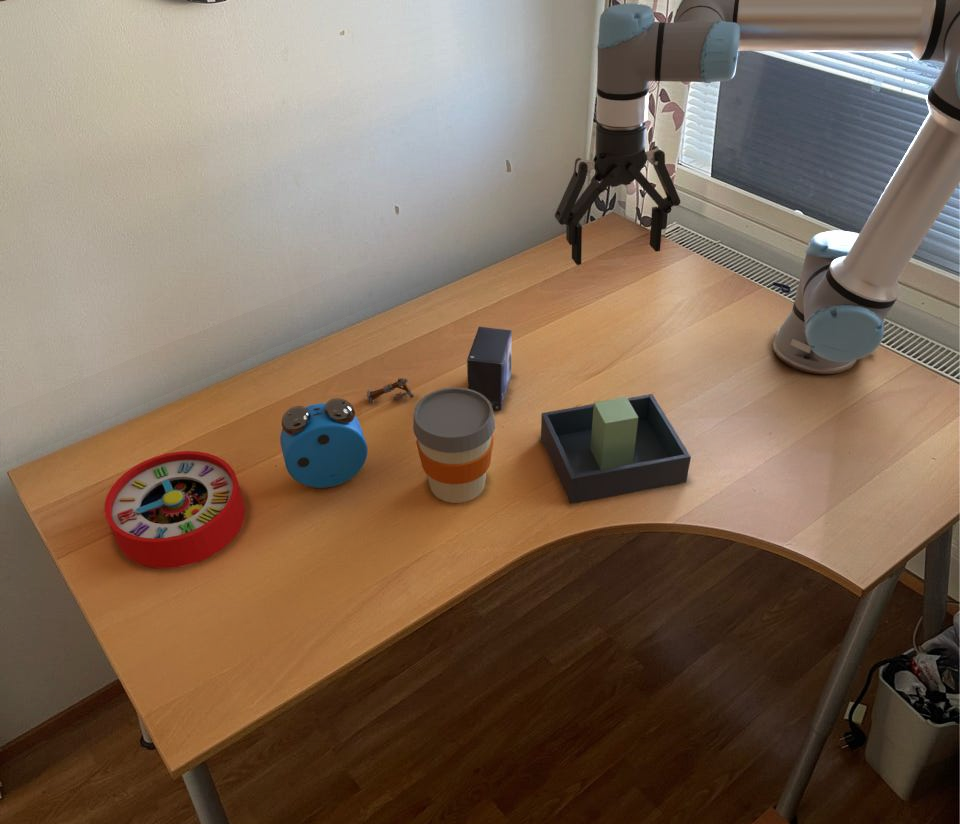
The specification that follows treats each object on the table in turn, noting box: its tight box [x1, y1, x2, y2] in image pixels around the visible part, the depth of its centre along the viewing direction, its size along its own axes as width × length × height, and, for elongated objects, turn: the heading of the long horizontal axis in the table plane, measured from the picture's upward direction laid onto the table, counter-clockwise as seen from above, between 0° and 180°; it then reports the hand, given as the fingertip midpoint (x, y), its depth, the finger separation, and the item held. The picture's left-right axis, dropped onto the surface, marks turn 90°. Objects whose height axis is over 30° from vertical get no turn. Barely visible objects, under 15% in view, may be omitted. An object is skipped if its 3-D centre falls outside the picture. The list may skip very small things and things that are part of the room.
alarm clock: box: [279, 397, 369, 489], centre depth 144 cm, size 13×6×15 cm, turn 107°
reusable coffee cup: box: [412, 387, 496, 504], centre depth 142 cm, size 12×13×15 cm
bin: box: [540, 393, 692, 505], centre depth 148 cm, size 20×17×6 cm
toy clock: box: [103, 450, 246, 570], centre depth 141 cm, size 20×6×20 cm
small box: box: [466, 326, 513, 411], centre depth 160 cm, size 11×6×10 cm, turn 168°
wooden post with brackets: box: [366, 377, 414, 404], centre depth 162 cm, size 2×8×4 cm, turn 92°
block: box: [590, 396, 638, 470], centre depth 146 cm, size 6×6×10 cm
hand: (615, 254), depth 149 cm, fingers open, 13 cm apart
